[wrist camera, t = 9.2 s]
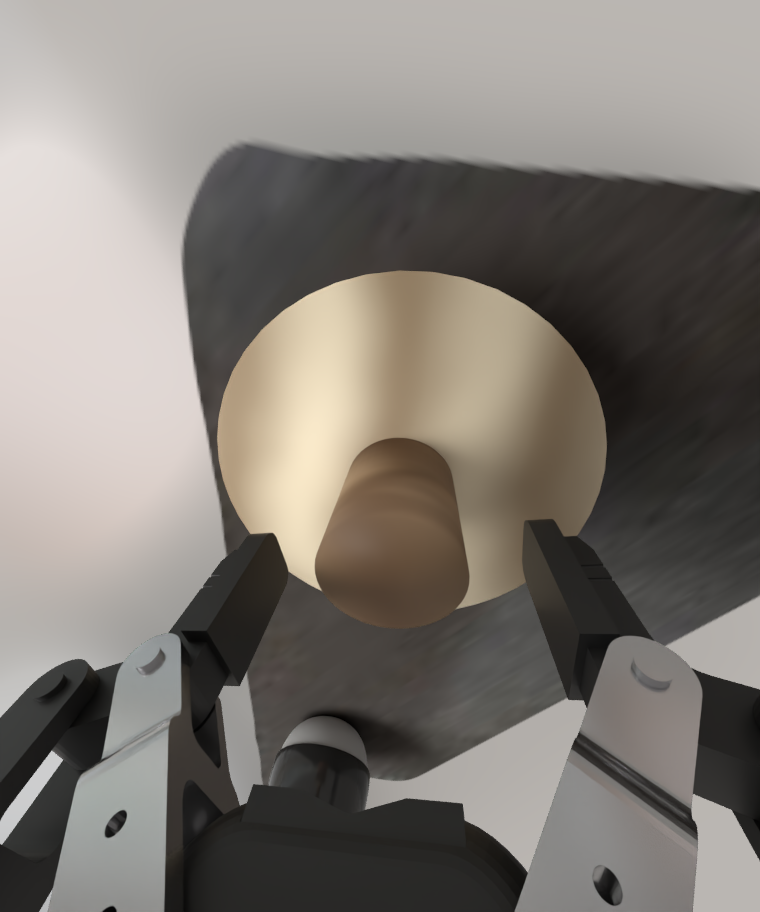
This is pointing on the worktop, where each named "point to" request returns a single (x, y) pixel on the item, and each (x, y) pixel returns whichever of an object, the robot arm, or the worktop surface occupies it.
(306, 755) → the pump dispenser
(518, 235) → the worktop surface
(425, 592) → the lid
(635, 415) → the worktop surface
